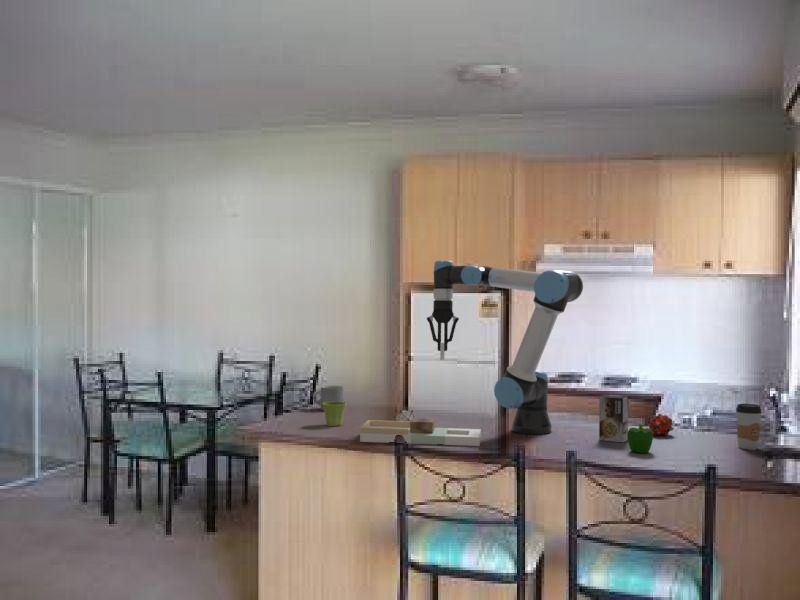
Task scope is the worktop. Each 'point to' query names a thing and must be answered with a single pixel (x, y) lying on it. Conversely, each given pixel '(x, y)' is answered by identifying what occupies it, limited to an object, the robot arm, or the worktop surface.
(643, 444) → the bell pepper
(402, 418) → the game die
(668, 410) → the worktop surface
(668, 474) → the worktop surface
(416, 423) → the walnut block
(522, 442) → the worktop surface
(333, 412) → the plant pot
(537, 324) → the robot arm
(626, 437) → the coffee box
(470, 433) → the deck
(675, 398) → the worktop surface
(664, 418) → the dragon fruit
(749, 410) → the coffee cup
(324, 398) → the coffee mug
